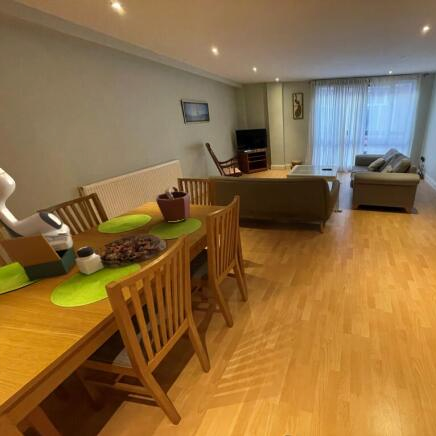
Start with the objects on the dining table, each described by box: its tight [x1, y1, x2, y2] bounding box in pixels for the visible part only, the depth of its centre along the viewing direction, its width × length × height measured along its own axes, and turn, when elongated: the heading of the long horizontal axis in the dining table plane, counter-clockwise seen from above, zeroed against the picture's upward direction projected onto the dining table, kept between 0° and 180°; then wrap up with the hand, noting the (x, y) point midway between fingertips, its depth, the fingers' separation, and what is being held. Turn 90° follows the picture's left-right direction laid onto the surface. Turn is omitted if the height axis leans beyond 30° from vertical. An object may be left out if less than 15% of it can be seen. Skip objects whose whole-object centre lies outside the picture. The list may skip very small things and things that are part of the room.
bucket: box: [155, 185, 191, 224], centre depth 177 cm, size 24×22×25 cm
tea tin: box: [22, 245, 79, 282], centre depth 119 cm, size 16×14×8 cm
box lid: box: [0, 234, 61, 268], centre depth 105 cm, size 17×14×1 cm
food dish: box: [94, 233, 167, 268], centre depth 135 cm, size 35×33×8 cm
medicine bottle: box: [75, 246, 105, 275], centre depth 117 cm, size 7×7×12 cm
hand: (36, 254), depth 108 cm, fingers closed, pressing on box lid
